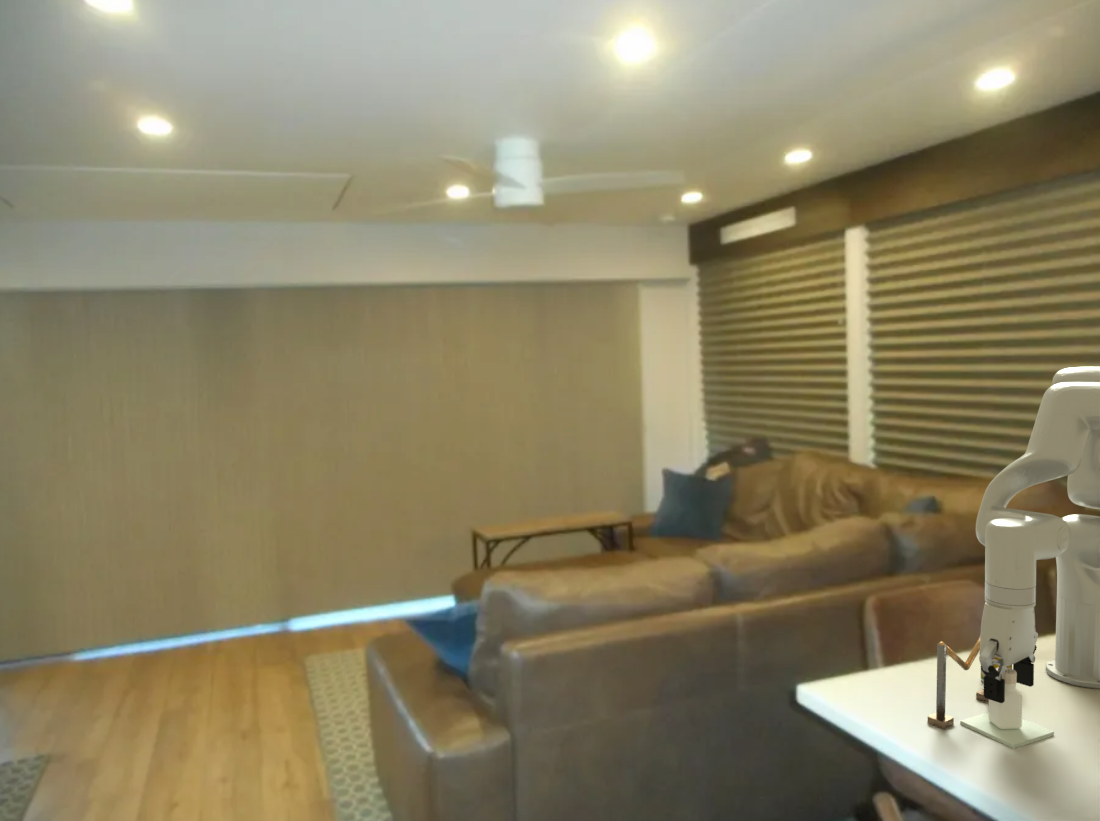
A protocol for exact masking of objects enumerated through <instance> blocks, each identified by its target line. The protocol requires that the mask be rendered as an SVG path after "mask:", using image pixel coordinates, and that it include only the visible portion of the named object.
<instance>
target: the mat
mask: <svg viewBox="0 0 1100 821" xmlns="http://www.w3.org/2000/svg"><path fill="white" fill-rule="evenodd" d="M959 722H960V725H962V726H963V727H966V728H968V729H970V730H972V731H974V732H977V733H980V734H981V735H983V736H985V737H988V738H990V739H993V740H994V741H997V742H999V743H1001V744H1003V745H1005V746H1007V747H1009V748H1012V749H1017V748H1020V747H1022V746H1025V745H1028V744H1031V743H1035V742H1038V741H1040V740H1043V739H1047V738H1049V737H1053V736H1054V735H1055V731H1053V730H1052V729H1049V728H1047V727H1044V726H1042V725H1039V724H1037V723H1036V722H1035V723H1034V722H1032V721H1030V720H1027V719H1025V718H1023V717H1022V726H1021V728H1019V729H1000V728H998V727H997V726H995V725H994V724H993V723H992V722H991V721H990V720H989V718H988V711H987V712H984V713H981V714H977V715H974V716H970V717H967V718H965V719H961V720H960V721H959Z"/></svg>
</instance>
